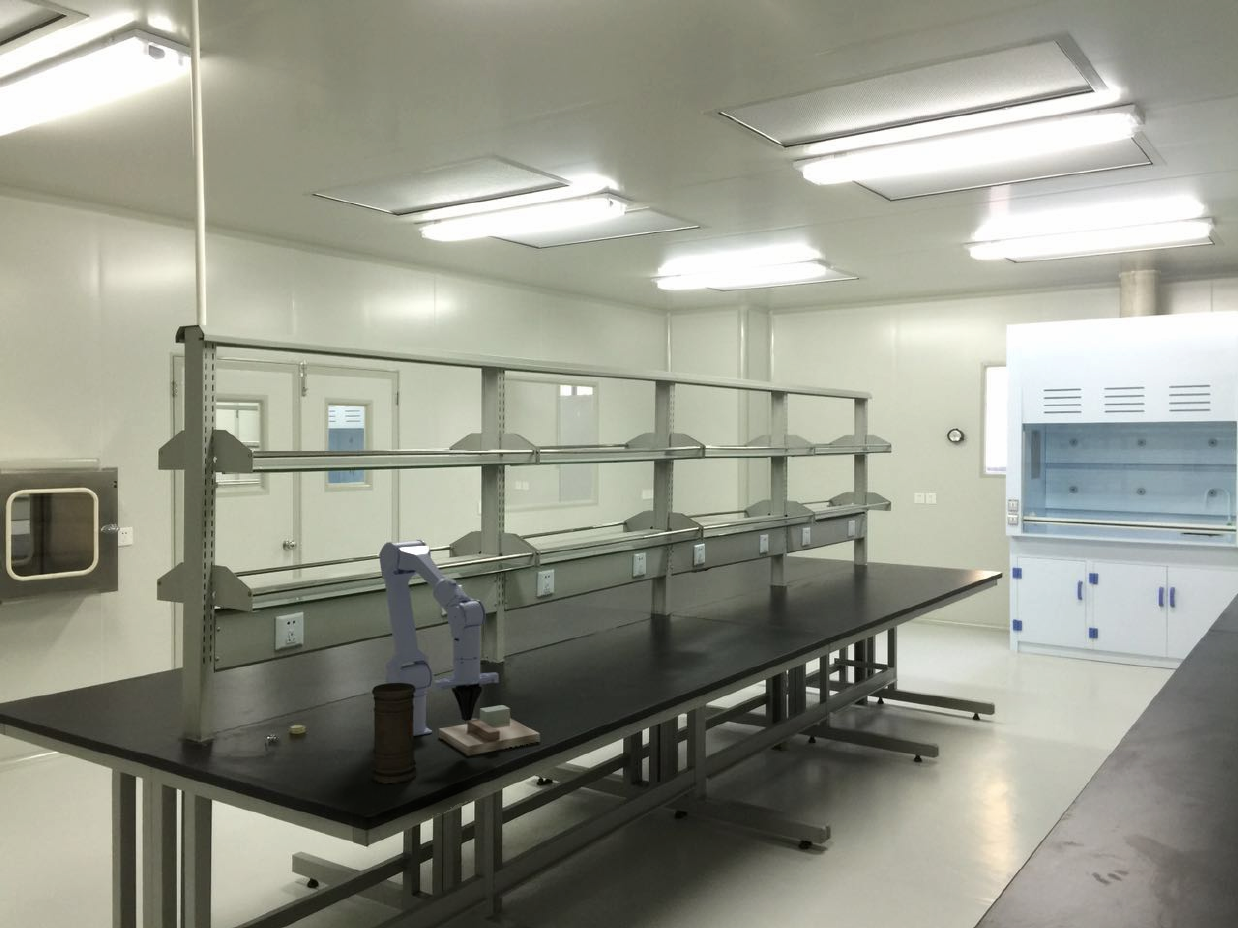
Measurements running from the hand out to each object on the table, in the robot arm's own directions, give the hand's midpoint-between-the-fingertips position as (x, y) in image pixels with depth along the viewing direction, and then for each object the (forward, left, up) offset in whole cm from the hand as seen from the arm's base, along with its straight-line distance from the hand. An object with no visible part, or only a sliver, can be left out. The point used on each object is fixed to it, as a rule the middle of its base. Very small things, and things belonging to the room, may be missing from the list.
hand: (466, 719), depth 215 cm
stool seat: (+8, +5, -7) cm, 11 cm away
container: (-19, -7, -7) cm, 21 cm away
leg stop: (+12, +11, -5) cm, 17 cm away
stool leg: (+5, +3, -5) cm, 7 cm away
